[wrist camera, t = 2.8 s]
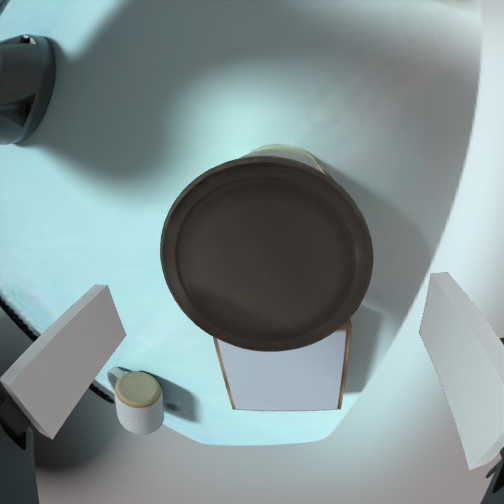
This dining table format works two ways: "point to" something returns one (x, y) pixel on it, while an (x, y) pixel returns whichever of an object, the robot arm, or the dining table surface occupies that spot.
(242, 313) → the coffee can
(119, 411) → the ceramic mug
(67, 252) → the dining table surface
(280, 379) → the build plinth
